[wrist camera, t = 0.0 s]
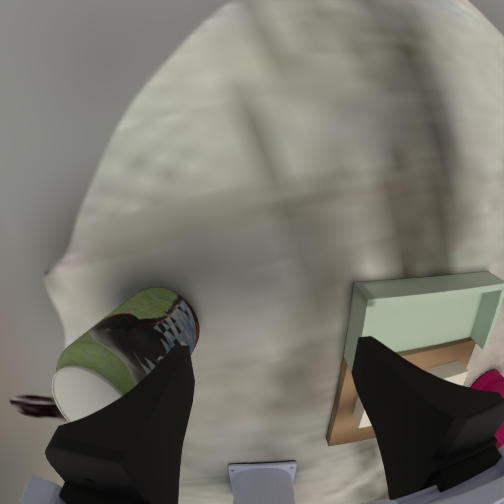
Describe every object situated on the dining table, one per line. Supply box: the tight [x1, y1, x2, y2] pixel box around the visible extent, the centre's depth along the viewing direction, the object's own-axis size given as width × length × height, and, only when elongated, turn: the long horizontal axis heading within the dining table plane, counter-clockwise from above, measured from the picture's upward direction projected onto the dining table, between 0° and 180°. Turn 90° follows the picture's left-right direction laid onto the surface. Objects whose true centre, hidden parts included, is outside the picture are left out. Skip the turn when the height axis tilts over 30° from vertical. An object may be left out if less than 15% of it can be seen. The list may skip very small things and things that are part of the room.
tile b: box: [425, 361, 469, 385], centre depth 24 cm, size 4×4×2 cm
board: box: [326, 337, 476, 446], centre depth 26 cm, size 12×15×1 cm
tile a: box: [353, 396, 372, 428], centre depth 24 cm, size 4×4×2 cm
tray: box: [344, 271, 504, 372], centre depth 22 cm, size 7×15×3 cm, turn 91°
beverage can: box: [52, 287, 199, 423], centre depth 17 cm, size 6×7×12 cm
